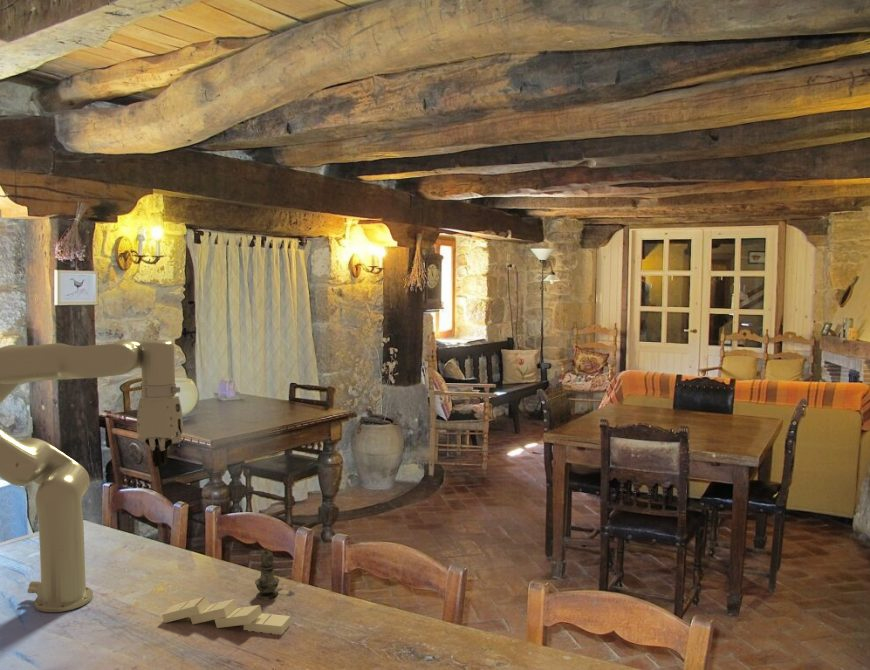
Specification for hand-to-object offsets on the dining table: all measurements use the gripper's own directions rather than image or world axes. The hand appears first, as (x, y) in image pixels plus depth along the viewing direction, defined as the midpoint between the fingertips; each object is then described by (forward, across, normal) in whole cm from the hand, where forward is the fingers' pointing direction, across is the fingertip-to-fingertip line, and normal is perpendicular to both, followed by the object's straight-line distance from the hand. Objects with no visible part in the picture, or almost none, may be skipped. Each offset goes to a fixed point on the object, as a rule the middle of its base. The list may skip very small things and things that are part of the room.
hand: (160, 465), depth 181 cm
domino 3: (+31, -21, +13) cm, 40 cm away
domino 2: (+31, -14, +12) cm, 37 cm away
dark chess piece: (+32, -26, -2) cm, 42 cm away
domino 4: (+31, -27, +14) cm, 44 cm away
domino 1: (+31, -8, +13) cm, 35 cm away
